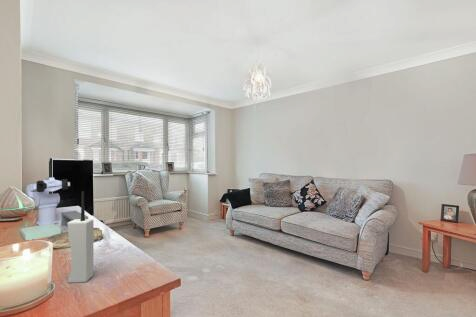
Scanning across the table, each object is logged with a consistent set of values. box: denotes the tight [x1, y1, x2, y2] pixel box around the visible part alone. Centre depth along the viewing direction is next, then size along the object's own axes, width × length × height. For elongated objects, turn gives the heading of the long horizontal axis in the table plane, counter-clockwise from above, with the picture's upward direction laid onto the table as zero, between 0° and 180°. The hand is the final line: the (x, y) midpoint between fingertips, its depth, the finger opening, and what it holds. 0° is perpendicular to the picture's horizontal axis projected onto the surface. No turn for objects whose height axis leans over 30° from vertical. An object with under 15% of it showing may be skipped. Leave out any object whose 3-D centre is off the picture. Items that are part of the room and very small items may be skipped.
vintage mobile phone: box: [67, 191, 95, 284], centre depth 66 cm, size 4×5×25 cm
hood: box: [60, 210, 89, 226], centre depth 116 cm, size 21×6×6 cm, turn 49°
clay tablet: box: [44, 227, 104, 250], centre depth 96 cm, size 14×5×20 cm
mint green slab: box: [20, 223, 62, 241], centre depth 106 cm, size 14×12×3 cm
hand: (56, 185), depth 111 cm, fingers open, 7 cm apart
